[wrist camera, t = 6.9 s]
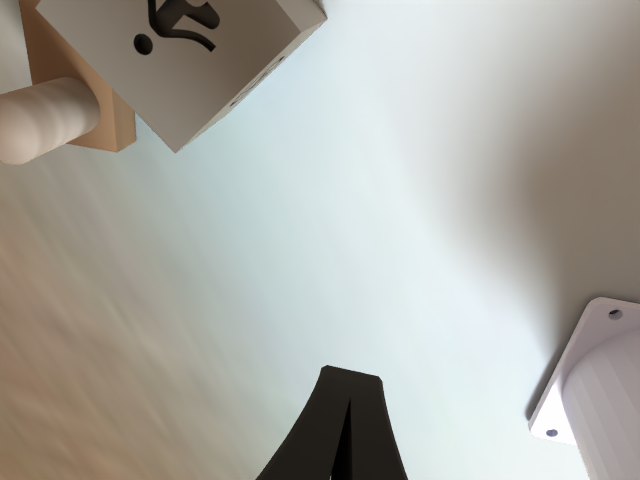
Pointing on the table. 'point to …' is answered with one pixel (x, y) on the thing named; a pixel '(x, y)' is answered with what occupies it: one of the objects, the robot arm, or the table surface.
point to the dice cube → (183, 52)
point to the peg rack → (60, 100)
